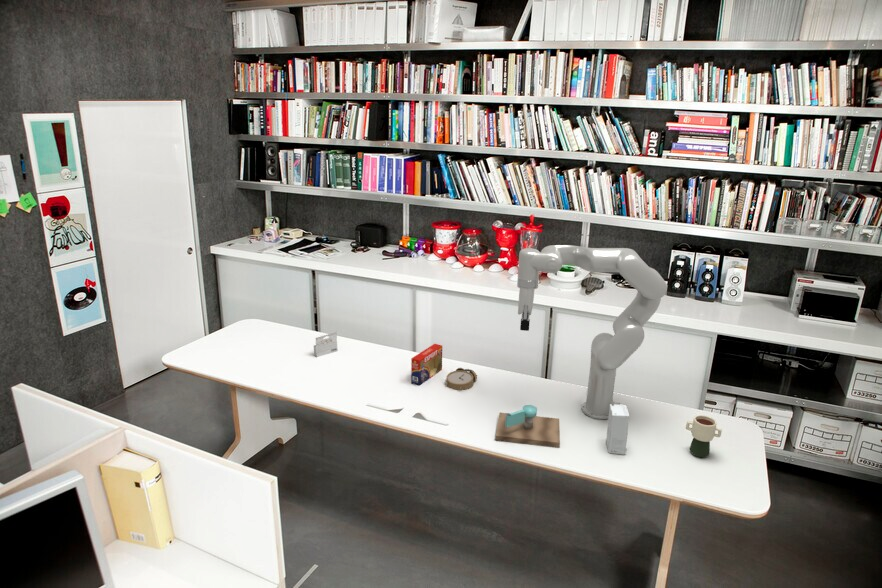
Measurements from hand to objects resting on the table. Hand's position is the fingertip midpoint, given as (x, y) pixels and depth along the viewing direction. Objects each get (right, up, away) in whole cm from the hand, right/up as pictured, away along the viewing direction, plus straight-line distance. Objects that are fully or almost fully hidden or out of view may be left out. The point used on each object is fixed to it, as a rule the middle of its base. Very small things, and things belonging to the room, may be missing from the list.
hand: (524, 329), depth 220 cm
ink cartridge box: (-84, -14, +53) cm, 100 cm away
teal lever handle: (-3, -32, -10) cm, 34 cm away
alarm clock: (-22, -24, +28) cm, 43 cm away
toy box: (-37, -22, +33) cm, 54 cm away
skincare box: (+29, -40, -15) cm, 52 cm away
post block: (0, -36, -7) cm, 37 cm away
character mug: (+57, -41, -18) cm, 73 cm away
